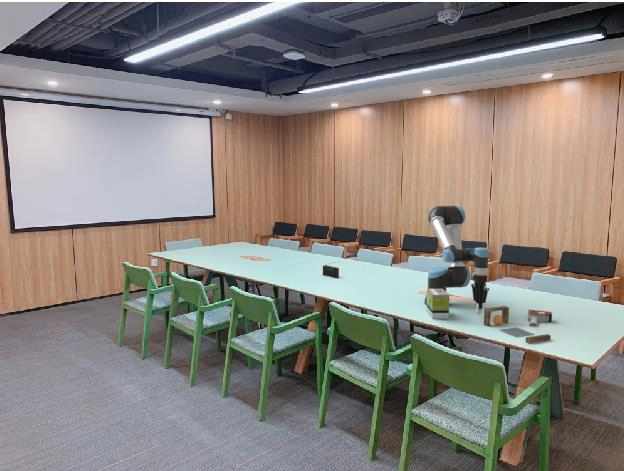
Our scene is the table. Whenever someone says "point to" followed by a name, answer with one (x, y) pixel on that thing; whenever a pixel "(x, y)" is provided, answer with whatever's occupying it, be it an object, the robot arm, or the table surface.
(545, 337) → the brown wooden bar
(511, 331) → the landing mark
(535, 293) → the table surface
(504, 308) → the bridge
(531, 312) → the tape dispenser
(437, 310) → the tea box
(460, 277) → the robot arm
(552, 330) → the table surface
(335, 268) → the radio
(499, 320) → the ball
